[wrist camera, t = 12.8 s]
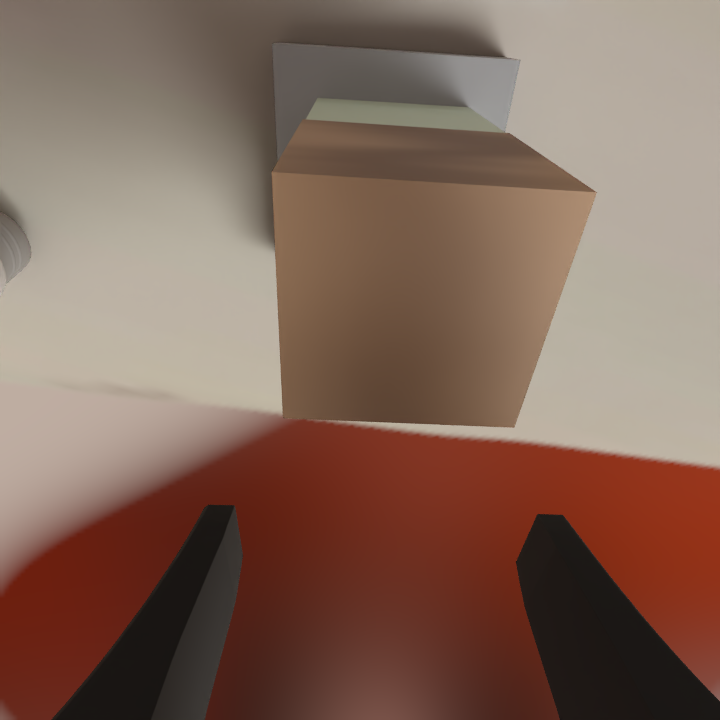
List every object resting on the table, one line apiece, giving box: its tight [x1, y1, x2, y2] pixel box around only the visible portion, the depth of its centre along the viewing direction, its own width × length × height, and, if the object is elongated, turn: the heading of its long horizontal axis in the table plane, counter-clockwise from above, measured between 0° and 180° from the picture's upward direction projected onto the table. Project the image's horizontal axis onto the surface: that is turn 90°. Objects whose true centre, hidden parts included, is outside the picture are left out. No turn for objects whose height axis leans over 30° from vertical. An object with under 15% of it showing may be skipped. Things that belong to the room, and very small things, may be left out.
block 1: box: [306, 98, 505, 133], centre depth 13 cm, size 4×4×4 cm
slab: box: [272, 42, 520, 162], centre depth 16 cm, size 7×7×2 cm
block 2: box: [272, 119, 597, 428], centre depth 9 cm, size 4×4×4 cm
